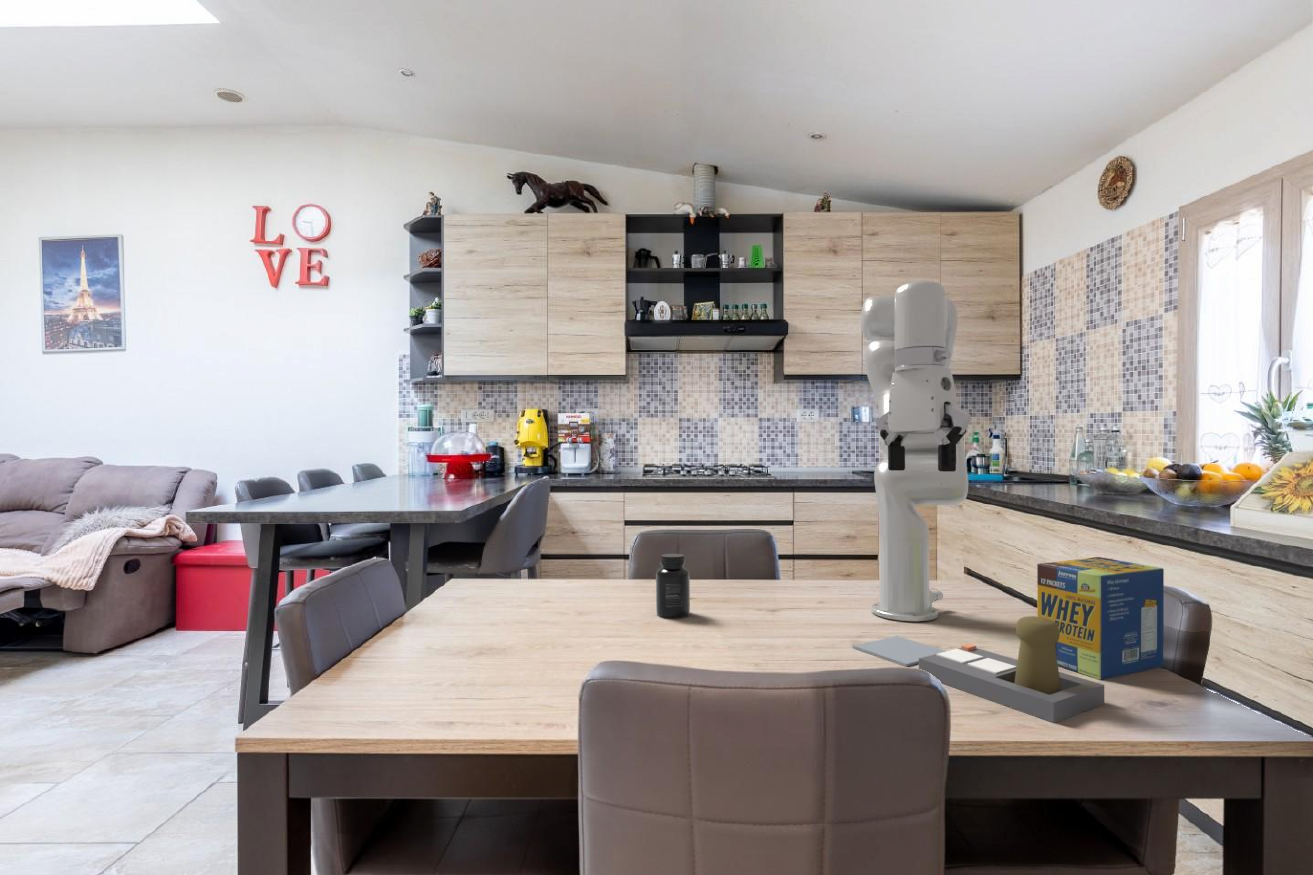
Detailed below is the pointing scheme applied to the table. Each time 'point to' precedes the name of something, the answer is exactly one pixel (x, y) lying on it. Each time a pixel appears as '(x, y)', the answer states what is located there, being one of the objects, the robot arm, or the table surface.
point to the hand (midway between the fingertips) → (920, 470)
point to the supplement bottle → (672, 587)
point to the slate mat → (898, 650)
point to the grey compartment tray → (1010, 683)
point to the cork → (1038, 655)
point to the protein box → (1104, 614)
